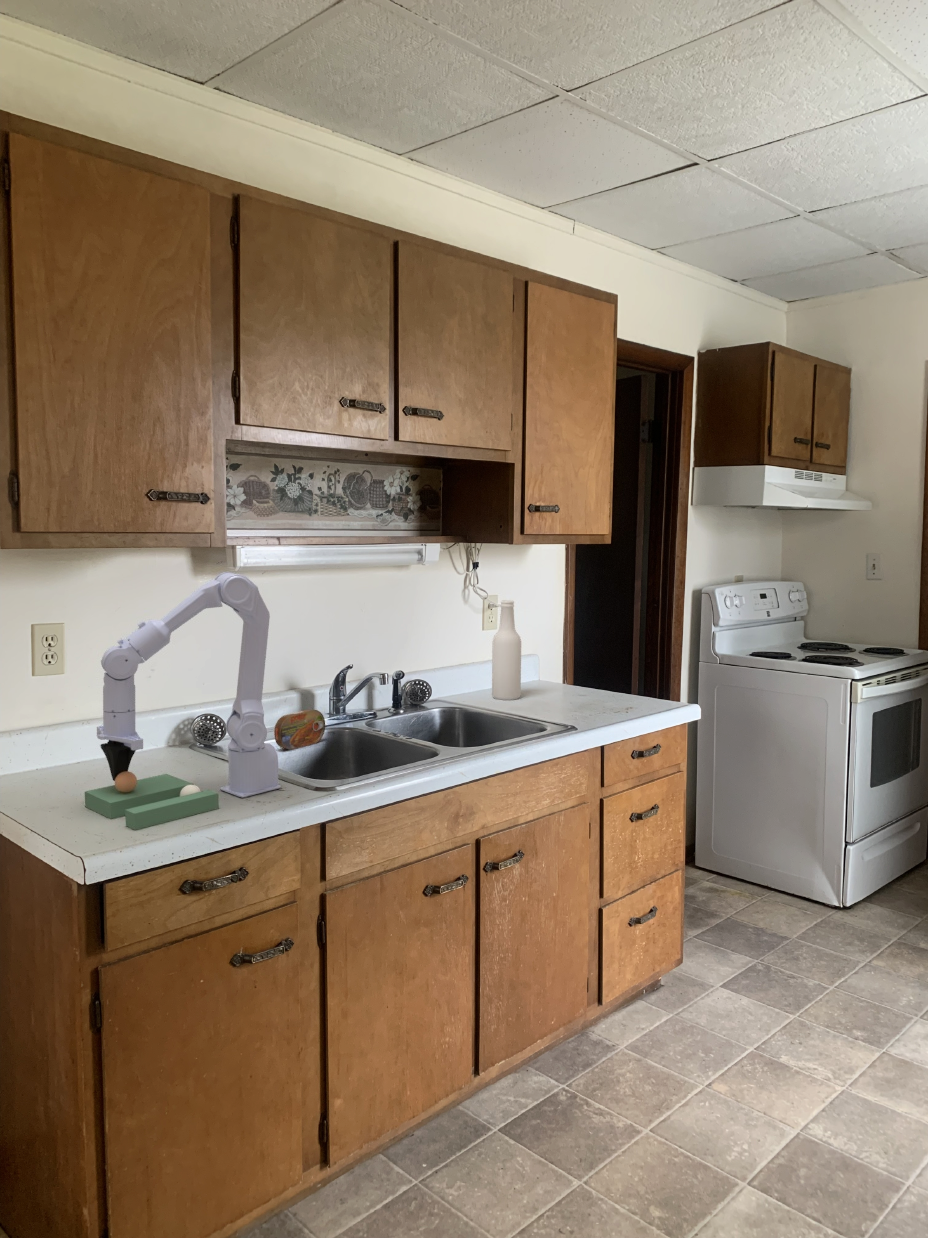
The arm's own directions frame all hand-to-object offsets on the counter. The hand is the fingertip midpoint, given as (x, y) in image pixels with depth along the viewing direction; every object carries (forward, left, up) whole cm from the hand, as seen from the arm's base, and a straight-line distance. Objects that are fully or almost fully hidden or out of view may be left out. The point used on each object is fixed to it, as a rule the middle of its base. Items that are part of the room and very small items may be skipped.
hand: (119, 780), depth 177 cm
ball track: (-4, +5, -5) cm, 8 cm away
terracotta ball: (0, +2, 0) cm, 2 cm away
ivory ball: (-9, +10, -3) cm, 14 cm away
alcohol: (-134, -16, -5) cm, 135 cm away
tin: (-53, -13, -5) cm, 54 cm away
